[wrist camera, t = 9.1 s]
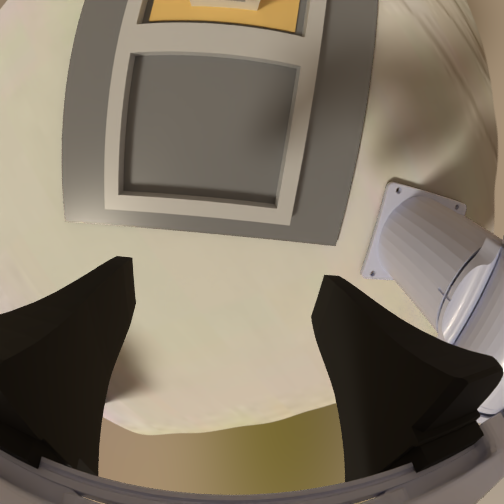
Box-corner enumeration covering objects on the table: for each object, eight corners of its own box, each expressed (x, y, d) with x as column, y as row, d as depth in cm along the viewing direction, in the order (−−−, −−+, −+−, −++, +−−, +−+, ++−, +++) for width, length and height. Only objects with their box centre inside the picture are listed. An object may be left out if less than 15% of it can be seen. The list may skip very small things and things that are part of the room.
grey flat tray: (375, -47, 10) (383, -53, 8) (333, 243, 20) (340, 252, 19) (118, -71, 7) (112, -79, 6) (68, 219, 18) (58, 226, 16)
